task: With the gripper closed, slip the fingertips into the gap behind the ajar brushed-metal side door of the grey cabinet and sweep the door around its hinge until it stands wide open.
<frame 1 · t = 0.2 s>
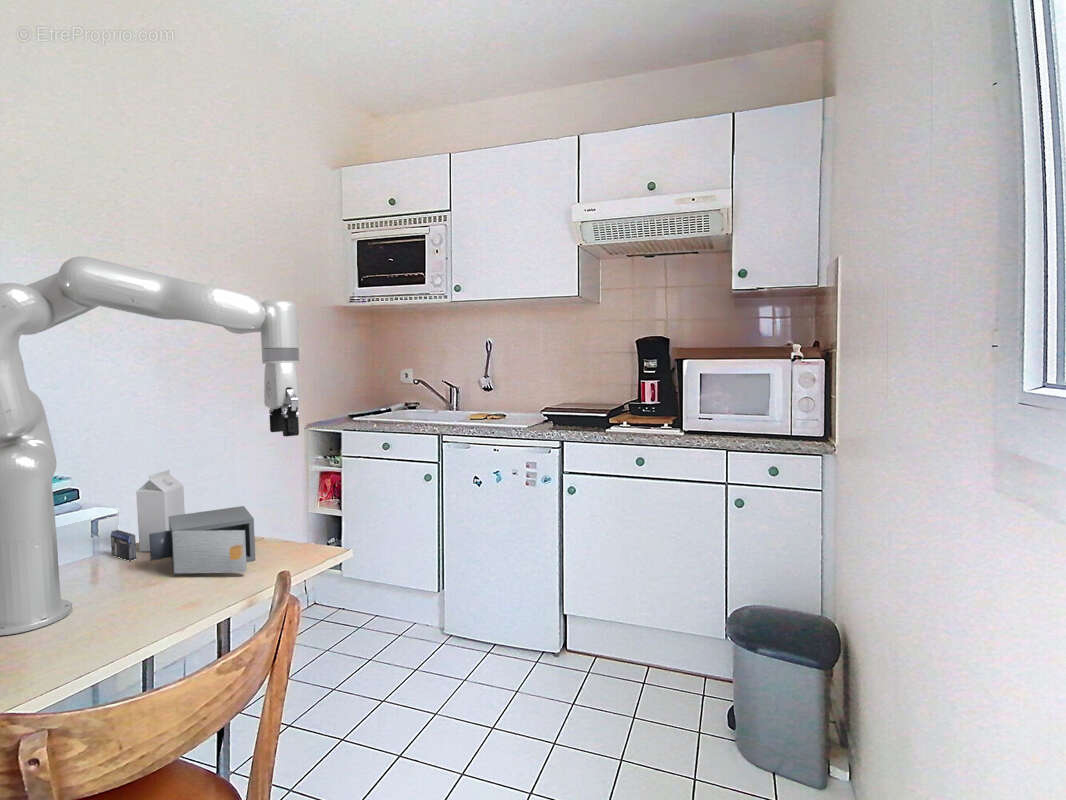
hand: (284, 433, 126), 30 cm above the table, fingers open, 9 cm apart
grey cabinet: (212, 559, 133), on the table
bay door: (208, 552, 121), point 5 cm above the table, hinge at 35.0°
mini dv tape: (124, 558, 134), on the table
milk carton: (163, 548, 141), on the table
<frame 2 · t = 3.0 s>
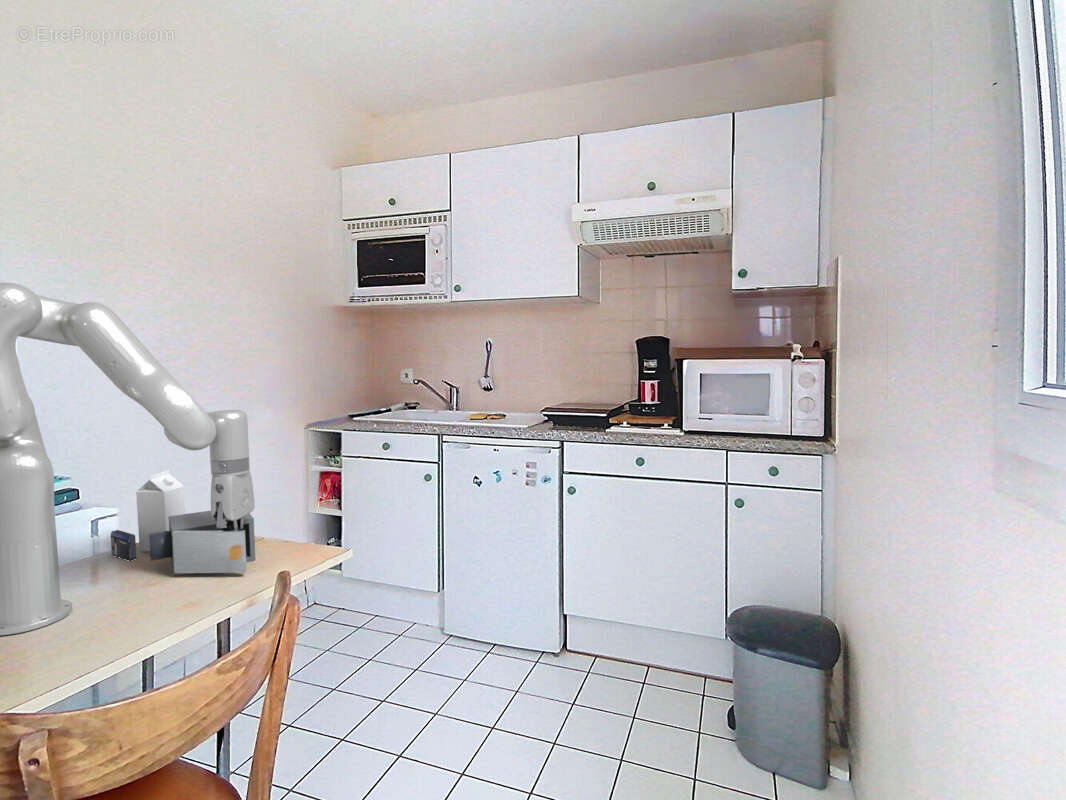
hand: (234, 547, 125), 5 cm above the table, fingers closed
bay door: (208, 552, 121), point 6 cm above the table, hinge at 35.0°, touching gripper
everything else where it was.
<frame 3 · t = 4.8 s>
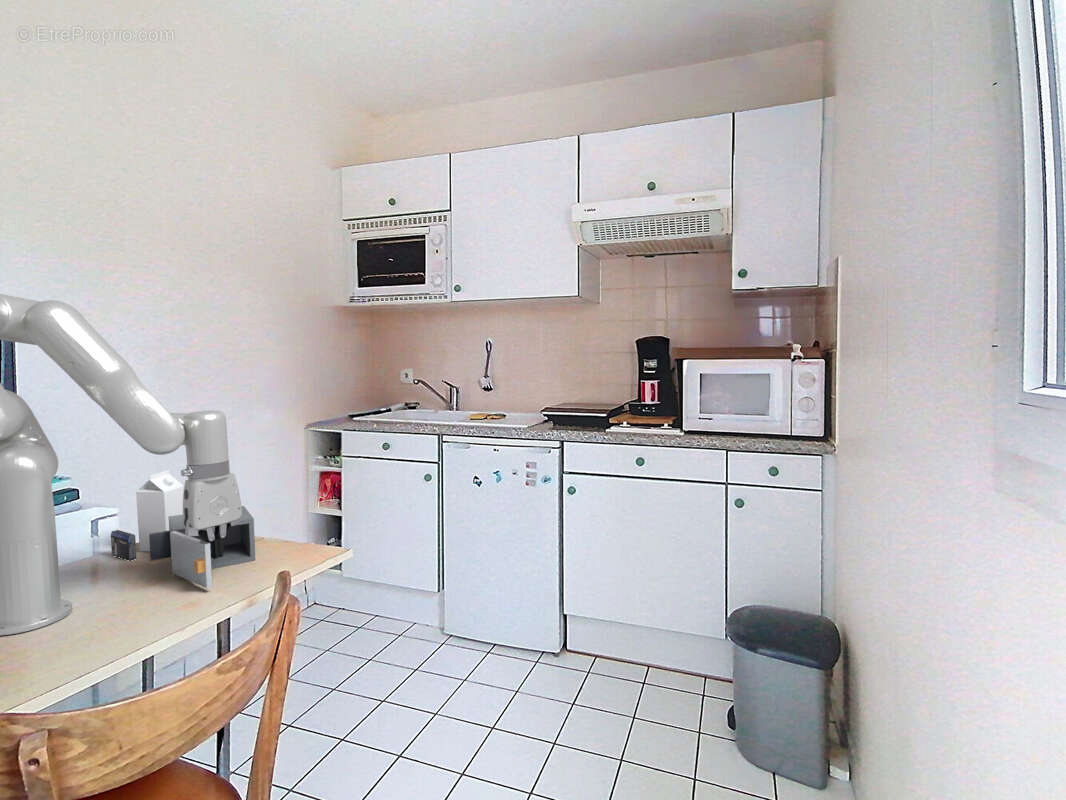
hand: (215, 556, 118), 6 cm above the table, fingers closed
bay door: (187, 559, 117), point 5 cm above the table, hinge at 70.1°, touching gripper
everything else where it was.
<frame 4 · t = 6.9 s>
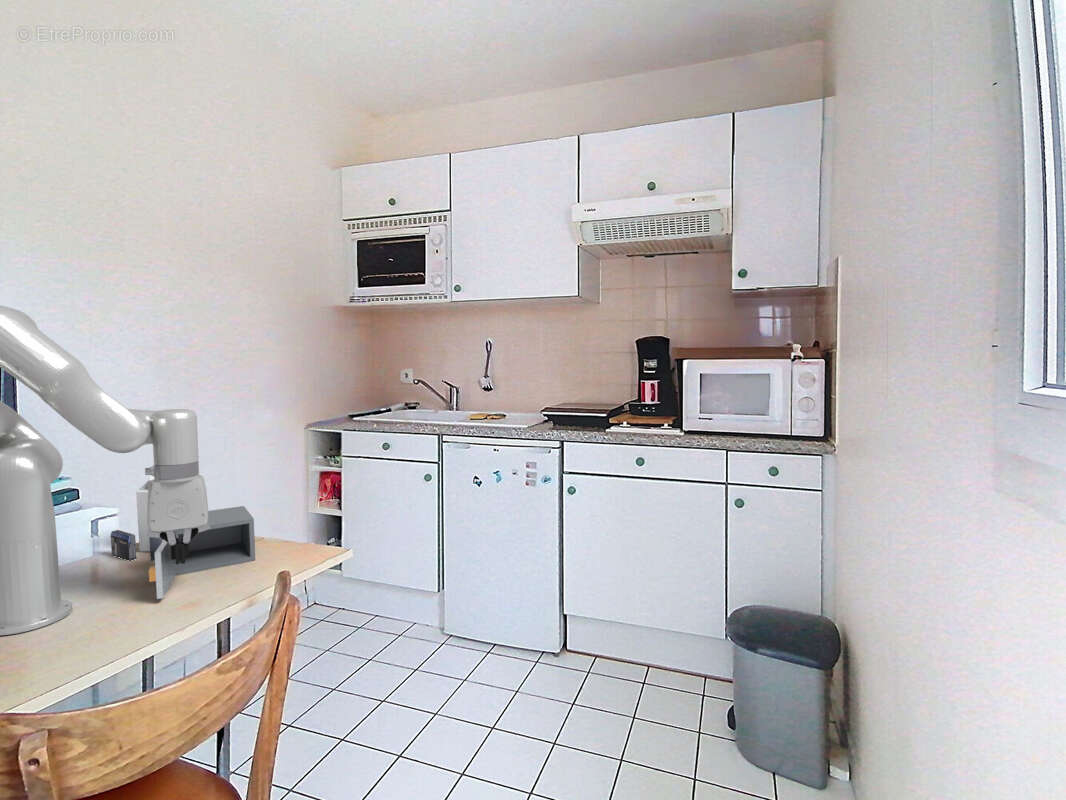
hand: (180, 561, 113), 6 cm above the table, fingers closed
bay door: (163, 563, 115), point 5 cm above the table, hinge at 102.3°, touching gripper
everything else where it was.
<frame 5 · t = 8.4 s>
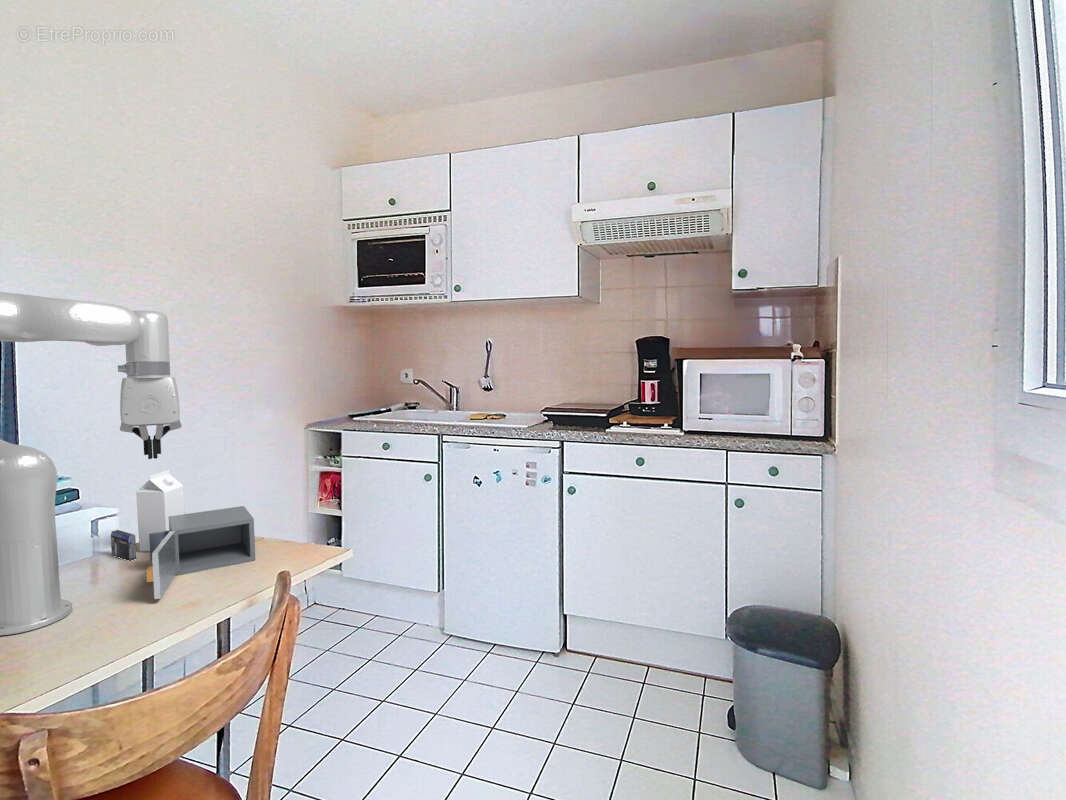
hand: (152, 457, 119), 26 cm above the table, fingers closed
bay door: (161, 563, 115), point 6 cm above the table, hinge at 103.9°
everything else where it was.
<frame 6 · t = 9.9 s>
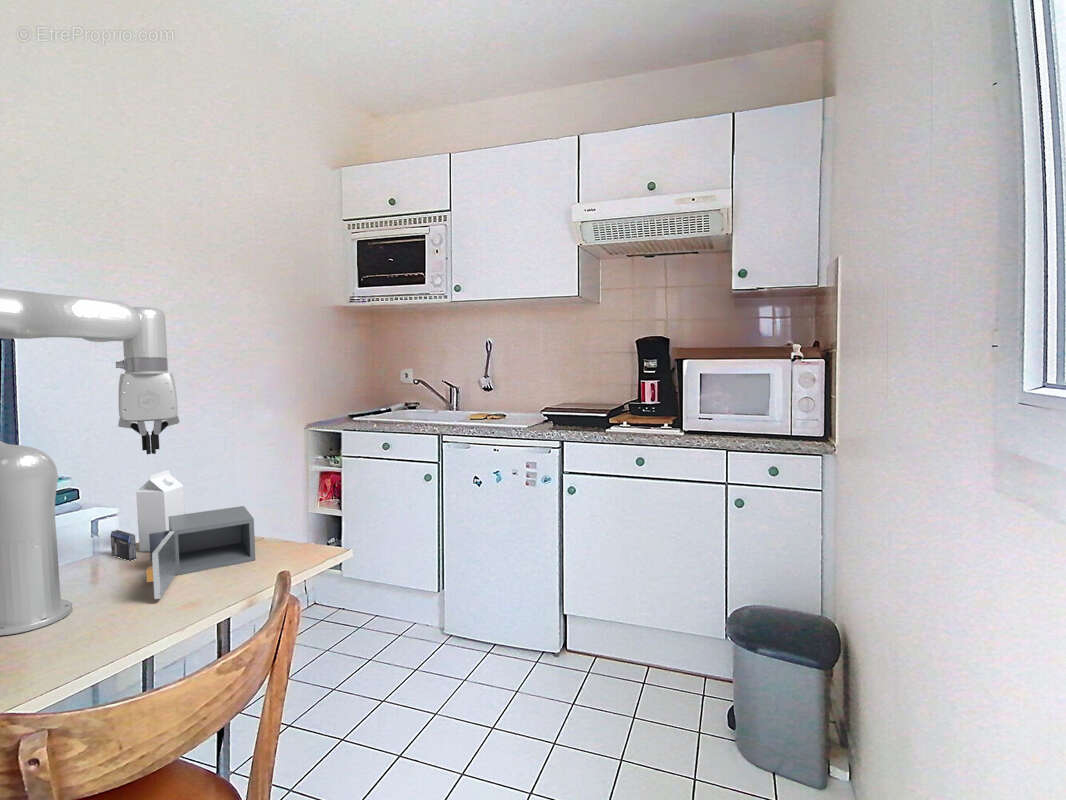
hand: (151, 453, 120), 27 cm above the table, fingers closed
nothing on the table moved.
at the end: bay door at +104° (first picture: +35°) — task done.
